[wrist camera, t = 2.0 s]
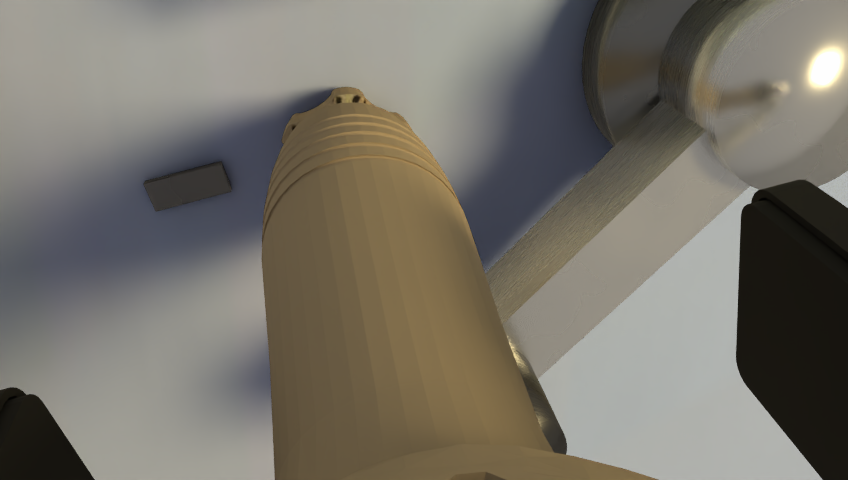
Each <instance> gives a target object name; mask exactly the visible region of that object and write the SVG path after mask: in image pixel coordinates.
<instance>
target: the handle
mask: <svg viewBox="0 0 848 480" xmlns="http://www.w3.org/2000/svg"><path fill="white" fill-rule="evenodd" d="M282 143H283V144H284V145H283V147H282V149H281V151H280V153H279V156H278V158H277V161H276V163H275V166H274V169H273V171H272V175H271V179H270V183H269V188H268V193H267V197H266V202H265V207H264V216H263V234H262V269H263V282H264V295H265V308H266V321H267V334H268V347H269V360H270V376H271V399H272V422H273V445H274V468H275V480H658V479H655V478H651V477H648V476H645V475H642V474H639V473H636V472H632V471H629V470H626V469H622V468H618V467H614V466H610V465H606V464H602V463H598V462H594V461H591V460H587V459H583V458H579V457H575V456H570V455H564V454H559V453H554V451H553V450H552V448H551V446H550V444H549V443H548V441H547V439H546V437H545V436H544V434H543V432H542V429H541V427H540V424H539V421H538V419H537V416H536V413H535V411H534V408H533V405H532V403H531V400H530V397H529V395H528V392H527V389H526V387H525V384H524V381H523V379H522V376H521V373H520V371H519V368H518V365H517V363H516V360H515V357H514V355H513V352H512V349H511V347H510V344H509V341H508V339H507V336H506V333H505V331H504V328H503V325H502V322H501V319H500V317H499V314H498V311H497V308H496V305H495V302H494V299H493V296H492V293H491V290H490V287H489V284H488V281H487V278H486V275H485V272H484V269H483V266H482V263H481V260H480V257H479V254H478V251H477V248H476V245H475V242H474V239H473V237H472V234H471V231H470V228H469V225H468V222H467V219H466V217H465V214H464V211H463V209H462V208H461V205H460V203H459V201H458V199H457V196H456V195H455V193H454V190H453V188H452V186H451V184H450V182H449V181H448V179H447V177H446V175H445V174H444V172H443V171H442V169H441V167H440V166H439V164H438V163H437V161H436V160H435V159H434V157H433V155H432V154H431V153H430V151H429V150H428V149H427V147H426V146H425V145H424V144H423V142H422V141H421V140H420V139H419V138H418V137H417V136H416V135H415V133H414V132H413V131H412V129H411V128H410V126H409V124H408V123H407V122H406V120H405V119H404V118H403V117H402V116H400V115H399V114H398V113H395V112H392V113H391V112H388V111H386V110H384V109H382V108H379V107H376V106H375V105H373V104H372V103H370V102H369V101H368V100H367V99H366V98H365V97H364V95H363V93H362V92H361V91H360V90H359V89H356V88H351V87H342V88H337V89H334V90H333V91H332V93H331V95H330V96H329V97H328V99H327V100H326V101H324V102H323V103H322V104H320V105H319V106H317V107H316V108H314V109H311V110H309V111H307V112H304V113H295V114H294V115H293V116H292V117H291V119H290V121H289V122H288V124H287V125H286V128H285V131H284V133H283V137H282Z"/></svg>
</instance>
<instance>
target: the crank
mask: <svg viewBox="0 0 848 480" xmlns="http://www.w3.org/2000/svg"><path fill="white" fill-rule="evenodd" d="M658 95H659V100H660V102H659V103H658V104H657V105H656V106H655V107H654V108H653V109H652V110H651V111H650V112H649V113H648V114H647V115H646V116H645V117H644V118H643V119H642V120H641V121H639V122H638V123H637V124H636V125H635V126H634V127H633V128H632V129H631V130H630V131H629V132H628V133H627V134H626V135H625V136H624V137H623V138H622V139H621V140H620V141H619V142H618V143H617V144H616V145H615V146H614V147H613V148H612V149H611V150H610V151H609V152H608V153H607V154H606V155H605V156H604V157H603V158H602V159H601V160H600V161H599V162H598V163H597V164H596V165H595V166H594V167H593V168H592V169H591V170H590V171H589V172H588V173H587V174H586V175H585V176H584V177H583V178H582V179H581V180H580V181H579V182H578V183H577V184H576V185H575V186H574V187H573V188H572V189H571V190H570V191H569V192H568V193H566V194H565V195H564V196H563V197H562V198H561V199H560V200H559V201H558V202H557V203H556V204H555V205H554V206H553V207H552V208H551V209H550V210H549V211H548V212H547V213H546V214H545V215H544V216H543V217H542V218H541V219H540V220H539V221H538V222H537V223H536V224H535V225H534V226H533V227H532V228H531V229H530V230H529V231H528V232H527V233H526V234H525V235H524V236H523V237H522V238H521V239H520V240H519V241H518V242H517V243H516V244H515V245H514V246H513V247H512V248H511V249H510V250H509V251H508V252H507V253H506V254H505V255H504V256H503V257H502V258H501V259H500V260H499V261H498V262H497V263H496V264H495V265H494V266H492V267H491V268H490V269H489V270H488V271H487V272H486V273H485V275H486V278H487V281H488V284H489V287H490V290H491V293H492V296H493V299H494V302H495V305H496V308H497V311H498V314H499V317H500V319H501V322H502V325H503V328H504V331H505V333H506V336H507V339H508V341H509V344H510V347H511V349H512V352H513V355H514V357H515V360H516V363H517V365H518V368H519V371H520V373H521V376H522V379H523V381H524V384H525V387H526V389H527V392H528V395H529V397H530V400H531V403H532V405H533V408H534V411H535V413H536V416H537V419H538V421H539V424H540V427H541V429H542V432H543V434H544V436H545V437H546V439H547V441H548V443H549V444H550V446H551V448H552V450H553V451H554V453H559V454H564V455H566V451H567V443H566V438H565V436H564V433H563V431H562V429H561V427H560V425H559V423H558V421H557V419H556V417H555V414H554V412H553V410H552V408H551V406H550V404H549V402H548V400H547V398H546V396H545V393H544V391H543V389H542V387H541V385H540V383H539V381H538V378H539V377H540V376H541V375H543V374H544V373H545V372H546V371H547V370H548V369H549V368H550V367H551V366H552V365H554V364H555V363H556V362H557V361H558V360H559V359H560V358H561V357H562V356H563V355H565V354H566V353H567V352H568V351H569V350H570V349H571V348H572V347H573V346H574V345H576V344H577V343H578V342H579V341H580V340H581V339H582V338H583V337H584V336H585V335H587V334H588V333H589V332H590V331H591V330H592V329H593V328H594V327H595V326H596V325H598V324H599V323H600V322H601V321H602V320H603V319H604V318H605V317H606V316H607V315H609V314H610V313H611V312H612V311H613V310H614V309H615V308H616V307H617V306H618V305H620V304H621V303H622V302H623V301H624V300H625V299H626V298H627V297H628V296H629V295H631V294H632V293H633V292H634V291H635V290H636V289H637V288H638V287H639V286H640V285H642V284H643V283H644V282H645V281H646V280H647V279H648V278H649V277H650V276H651V275H653V274H654V273H655V272H656V271H657V270H658V269H659V268H660V267H661V266H662V265H664V264H665V263H666V262H667V261H668V260H669V259H670V258H671V257H672V256H673V255H674V254H676V253H677V252H678V251H679V250H680V249H681V248H682V247H683V246H684V245H685V244H687V243H688V242H689V241H690V240H691V239H692V238H693V237H694V236H695V235H696V234H698V233H699V232H700V231H701V230H702V229H703V228H704V227H705V226H706V225H707V224H709V223H710V222H711V221H712V220H713V219H714V218H715V217H716V216H717V215H718V214H720V213H721V212H722V211H723V210H724V209H725V208H726V207H727V206H728V205H729V204H731V203H732V202H733V201H734V200H735V199H736V198H737V197H738V196H739V195H740V194H742V193H743V192H744V191H745V190H746V189H747V188H748V187H749V186H752V187H754V188H757V189H759V190H761V189H765V188H768V187H772V186H776V185H780V184H784V183H787V182H791V181H795V180H803V179H804V180H806V181H808V182H811V183H812V184H813V185H815V186H816V187H818V186H820V185H823V184H825V183H827V182H829V181H831V180H833V179H835V178H837V177H839V176H840V175H842V174H843V173H845V172H846V171H848V0H697V1H696V2H695V3H694V4H693V5H692V6H691V7H690V8H689V9H688V11H687V12H686V13H685V14H684V15H683V16H682V18H681V19H680V21H679V22H678V23H677V25H676V26H675V28H674V30H673V32H672V34H671V35H670V37H669V39H668V42H667V44H666V46H665V49H664V52H663V55H662V58H661V62H660V67H659V73H658Z"/></svg>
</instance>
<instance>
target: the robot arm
mask: <svg viewBox="0 0 848 480" xmlns="http://www.w3.org/2000/svg"><path fill="white" fill-rule="evenodd" d="M736 362H737V366H738V370H739V373H740V375H741V377H742V379H743V381H744V383H745V384H746V385H747V387H748V388H749V389H750V390H751V392H752V393H753V394H754V395H755V397H756V398H757V399H758V400H759V402H760V403H761V404H762V405H763V406H764V408H765V409H766V410H767V411H768V413H769V414H770V415H771V416H772V418H773V419H774V420H775V421H776V423H777V424H778V425H779V426H780V427H781V429H782V430H783V431H784V432H785V434H786V435H787V436H788V437H789V439H790V440H791V441H792V442H793V443H794V445H795V446H796V447H797V448H798V450H799V451H800V452H801V453H802V455H803V456H804V457H805V458H806V459H807V461H808V462H809V463H810V464H811V466H812V467H813V468H814V469H815V471H816V472H817V473H818V474H819V476H820V477H821V478H822V479H823V480H848V208H847V207H845V206H844V205H842V204H841V203H840V202H838V201H837V200H835V199H834V198H832V197H831V196H829V195H828V194H827V193H825V192H824V191H822V190H821V189H819V188H818V187H816V186H815V185H813V184H812V183H811V182H808V181H806V180H804V179H803V180H795V181H791V182H787V183H784V184H780V185H776V186H772V187H768V188H765V189H761V190H758V191H757V192H756V193H755V194H754V196H753V198H752V203H751V204H747V205H746V206H744V208H743V210H742V214H741V234H740V262H739V290H738V318H737V346H736ZM0 480H94V478H93V477H92V475H91V474H90V472H89V471H88V469H87V468H86V466H85V465H84V463H83V462H82V460H81V459H80V457H79V456H78V454H77V453H76V451H75V450H74V448H73V447H72V445H71V444H70V442H69V441H68V439H67V438H66V436H65V435H64V433H63V432H62V430H61V429H60V427H59V426H58V424H57V423H56V421H55V420H54V418H53V417H52V415H51V414H50V412H49V411H48V409H47V408H46V406H45V405H44V403H43V402H42V401H41V400H40V398H39V397H37V396H36V395H33V394H29V395H26V394H25V393H24V392H23V391H21V390H20V389H18V388H7V389H3V390H0Z"/></svg>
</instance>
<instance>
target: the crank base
mask: <svg viewBox="0 0 848 480" xmlns="http://www.w3.org/2000/svg"><path fill="white" fill-rule="evenodd" d="M696 1H697V0H599V1H598V4H597V6H596V8H595V10H594V12H593V15H592V18H591V21H590V24H589V27H588V30H587V35H586V39H585V44H584V50H583V61H582V76H583V86H584V92H585V98H586V101H587V104H588V107H589V111H590V113H591V115H592V117H593V119H594V121H595V123H596V125H597V127H598V128H599V130H600V131H601V133H602V134H603V136H604V137H605V138H606V139H607V140H608V141H609V142H610V143H611V144H612V145H613V146H615V145H616V144H617V143H618V142H619V141H620V140H621V139H622V138H623V137H624V136H625V135H626V134H627V133H628V132H629V131H630V130H631V129H632V128H633V127H634V126H635V125H636V124H637V123H638V122H639V121H641V120H642V119H643V118H644V117H645V116H646V115H647V114H648V113H649V112H650V111H651V110H652V109H653V108H654V107H655V106H656V105H657V104H658V103H659V102H660V100H659V95H658V73H659V67H660V62H661V58H662V55H663V52H664V49H665V46H666V44H667V42H668V39H669V37H670V35H671V34H672V32H673V30H674V28H675V26H676V25H677V23H678V22H679V21H680V19H681V18H682V16H683V15H684V14H685V13H686V12H687V11H688V9H689V8H690V7H691V6H692V5H693V4H694V3H695V2H696ZM144 186H145V189H146V191H147V193H148V195H149V197H150V200H151V202H152V204H153V206H154V209H155V211H160V210H163V209H167V208H171V207H175V206H178V205H182V204H186V203H190V202H194V201H197V200H201V199H205V198H209V197H213V196H216V195H220V194H224V193H228V192H231V190H232V188H231V185H230V183H229V180H228V177H227V175H226V172H225V170H224V167H223V164H222V162H221V161H220V162H216V163H212V164H208V165H205V166H201V167H197V168H193V169H189V170H185V171H182V172H178V173H174V174H170V175H166V176H162V177H159V178H155V179H151V180H147V181H145V182H144Z"/></svg>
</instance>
